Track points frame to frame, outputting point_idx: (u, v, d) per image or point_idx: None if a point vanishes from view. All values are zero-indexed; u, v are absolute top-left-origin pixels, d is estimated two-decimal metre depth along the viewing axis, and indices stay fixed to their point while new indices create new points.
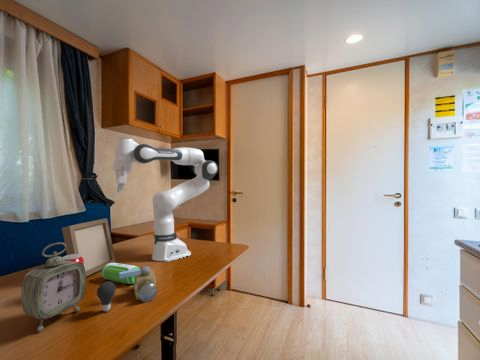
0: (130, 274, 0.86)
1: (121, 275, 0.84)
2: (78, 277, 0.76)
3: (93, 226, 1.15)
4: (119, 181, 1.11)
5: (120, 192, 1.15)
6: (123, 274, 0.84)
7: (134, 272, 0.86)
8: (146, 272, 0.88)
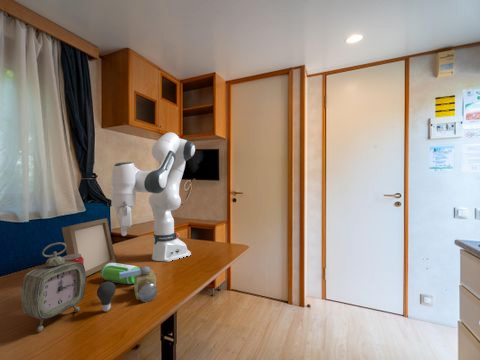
0: (130, 274, 0.86)
1: (121, 275, 0.84)
2: (78, 277, 0.76)
3: (93, 226, 1.15)
4: (122, 224, 0.82)
5: (124, 234, 0.90)
6: (123, 274, 0.84)
7: (134, 272, 0.86)
8: (146, 272, 0.88)
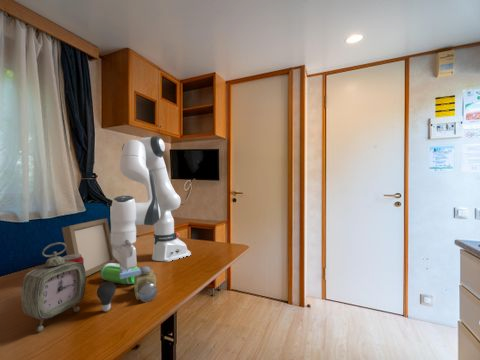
0: (130, 274, 0.85)
1: (121, 276, 0.83)
2: (78, 277, 0.76)
3: (93, 226, 1.15)
4: (127, 265, 0.78)
5: None
6: (123, 275, 0.84)
7: (134, 272, 0.86)
8: (146, 272, 0.88)
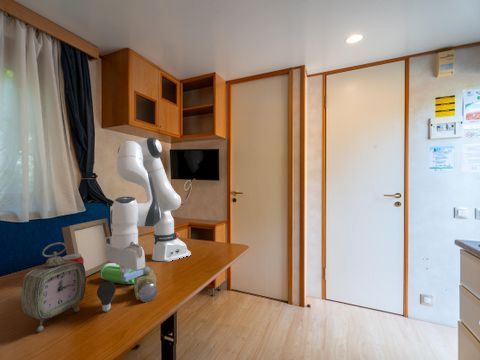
0: (134, 276, 0.84)
1: (127, 278, 0.81)
2: (78, 277, 0.76)
3: (93, 226, 1.15)
4: (137, 267, 0.77)
5: None
6: (128, 277, 0.82)
7: (137, 273, 0.85)
8: (148, 271, 0.89)
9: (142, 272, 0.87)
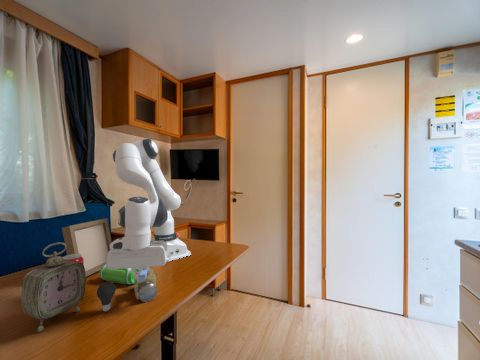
0: (145, 275, 0.84)
1: (144, 278, 0.81)
2: (78, 277, 0.76)
3: (93, 226, 1.15)
4: (165, 261, 0.83)
5: None
6: (144, 276, 0.82)
7: (146, 273, 0.86)
8: (149, 270, 0.90)
9: (147, 271, 0.88)
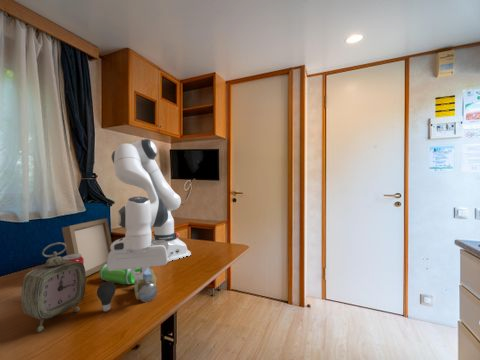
0: None
1: None
2: (78, 277, 0.76)
3: (93, 226, 1.15)
4: (167, 260, 0.83)
5: (142, 277, 0.82)
6: None
7: None
8: None
9: (148, 271, 0.88)
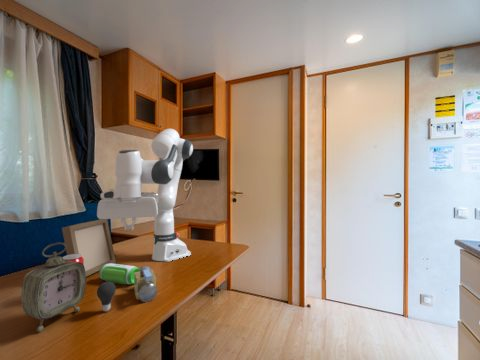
0: None
1: None
2: (78, 277, 0.76)
3: (93, 226, 1.15)
4: (157, 212, 0.84)
5: (133, 228, 0.83)
6: None
7: None
8: None
9: (148, 271, 0.88)
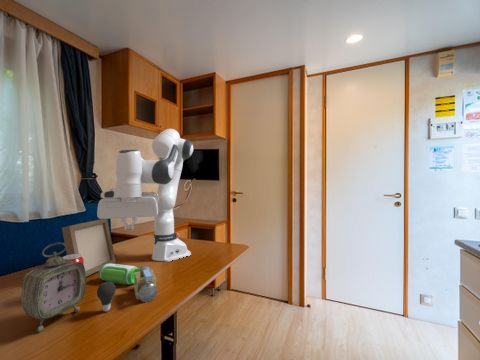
0: None
1: None
2: (78, 277, 0.76)
3: (93, 226, 1.15)
4: (157, 212, 0.84)
5: (133, 227, 0.83)
6: None
7: None
8: None
9: (148, 271, 0.88)
